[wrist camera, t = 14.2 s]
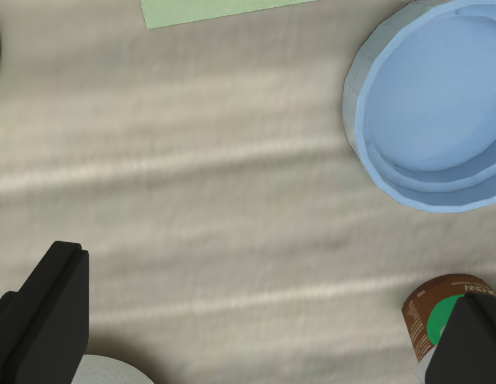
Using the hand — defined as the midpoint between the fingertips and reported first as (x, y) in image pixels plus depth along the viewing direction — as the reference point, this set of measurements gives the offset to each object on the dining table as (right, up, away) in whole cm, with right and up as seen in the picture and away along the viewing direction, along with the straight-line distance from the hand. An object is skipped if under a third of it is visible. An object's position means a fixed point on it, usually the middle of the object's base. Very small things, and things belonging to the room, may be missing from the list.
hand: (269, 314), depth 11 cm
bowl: (+14, +10, +24) cm, 30 cm away
